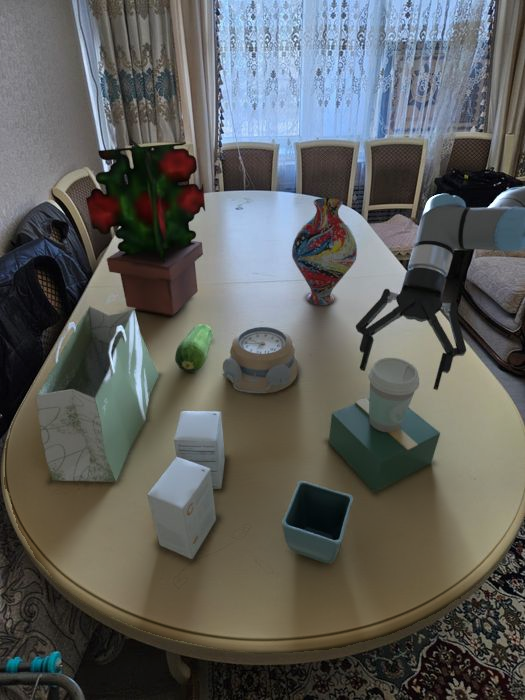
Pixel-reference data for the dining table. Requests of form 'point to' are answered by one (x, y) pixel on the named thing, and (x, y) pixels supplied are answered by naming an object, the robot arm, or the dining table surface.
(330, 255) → the vase
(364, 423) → the green parcel box
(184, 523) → the small box
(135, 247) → the potted plant
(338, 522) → the flower pot
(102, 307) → the dining table surface
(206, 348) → the vegetable
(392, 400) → the coffee cup
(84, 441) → the green gift bag
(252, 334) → the alarm clock
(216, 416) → the white packaging box
